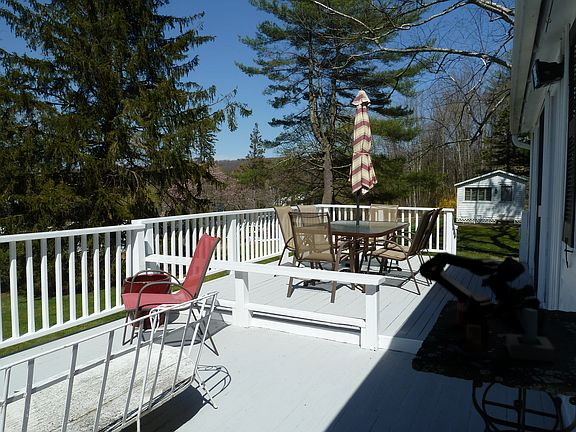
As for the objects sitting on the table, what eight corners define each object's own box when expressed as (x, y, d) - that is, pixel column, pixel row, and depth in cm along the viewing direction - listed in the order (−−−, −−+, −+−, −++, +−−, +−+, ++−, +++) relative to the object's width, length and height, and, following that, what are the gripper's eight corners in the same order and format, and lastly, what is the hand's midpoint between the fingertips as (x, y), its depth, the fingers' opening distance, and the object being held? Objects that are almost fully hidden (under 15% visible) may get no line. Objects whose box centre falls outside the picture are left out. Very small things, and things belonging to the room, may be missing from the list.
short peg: (466, 351, 146) (467, 327, 145) (466, 347, 150) (466, 323, 149) (481, 353, 144) (481, 328, 144) (480, 348, 148) (480, 325, 148)
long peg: (528, 356, 141) (529, 312, 140) (517, 351, 145) (518, 309, 145) (539, 354, 142) (540, 311, 142) (528, 350, 147) (529, 307, 146)
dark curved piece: (548, 332, 165) (549, 305, 164) (523, 332, 165) (523, 305, 165) (518, 315, 188) (518, 291, 187) (495, 315, 188) (496, 292, 187)
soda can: (460, 321, 180) (460, 291, 179) (479, 324, 175) (479, 294, 174) (454, 325, 174) (454, 295, 173) (473, 329, 169) (473, 297, 169)
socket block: (510, 357, 140) (510, 345, 140) (505, 345, 151) (506, 333, 151) (554, 362, 136) (554, 349, 136) (546, 349, 147) (546, 337, 147)
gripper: (500, 279, 141) (533, 322, 132) (535, 273, 151) (569, 313, 142) (478, 298, 149) (508, 341, 140) (513, 292, 158) (543, 331, 149)
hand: (533, 331), depth 142 cm, fingers open, 9 cm apart
